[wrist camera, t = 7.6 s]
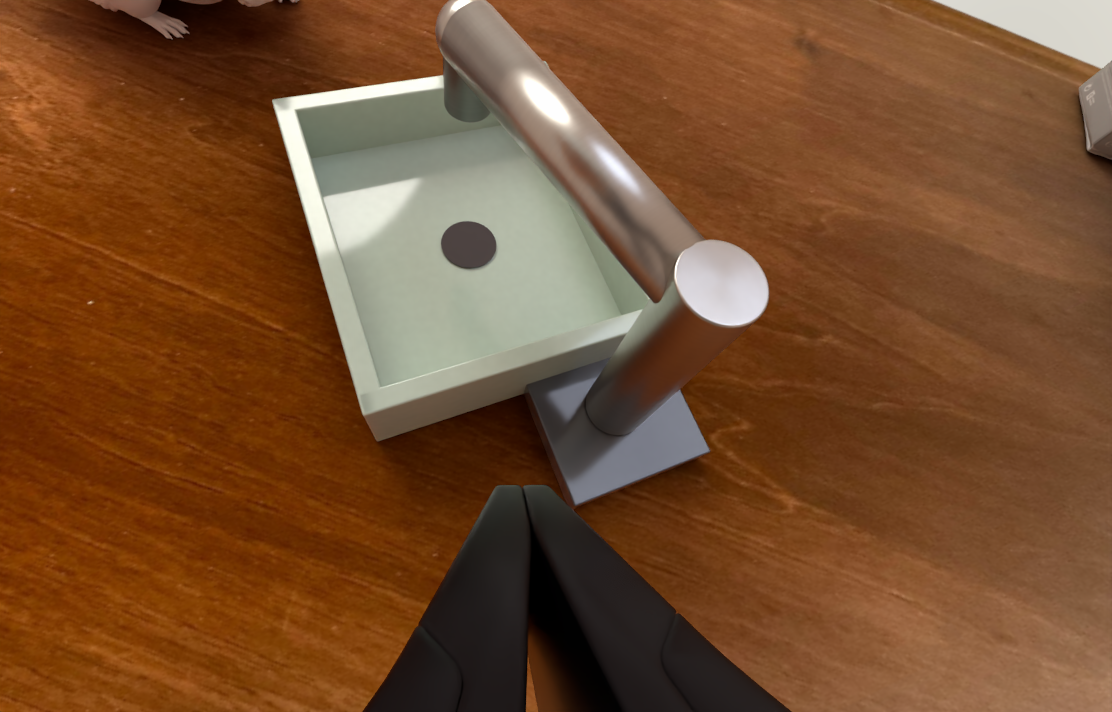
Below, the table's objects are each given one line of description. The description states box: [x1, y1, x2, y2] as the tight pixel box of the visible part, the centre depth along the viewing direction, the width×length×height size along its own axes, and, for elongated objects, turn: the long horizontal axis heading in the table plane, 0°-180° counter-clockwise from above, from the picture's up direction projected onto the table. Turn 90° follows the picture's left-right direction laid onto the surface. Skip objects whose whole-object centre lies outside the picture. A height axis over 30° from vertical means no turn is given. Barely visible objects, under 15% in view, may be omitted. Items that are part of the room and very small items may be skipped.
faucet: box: [435, 0, 769, 435], centre depth 19 cm, size 13×2×10 cm, turn 38°
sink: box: [272, 61, 710, 509], centre depth 23 cm, size 19×12×4 cm, turn 22°
